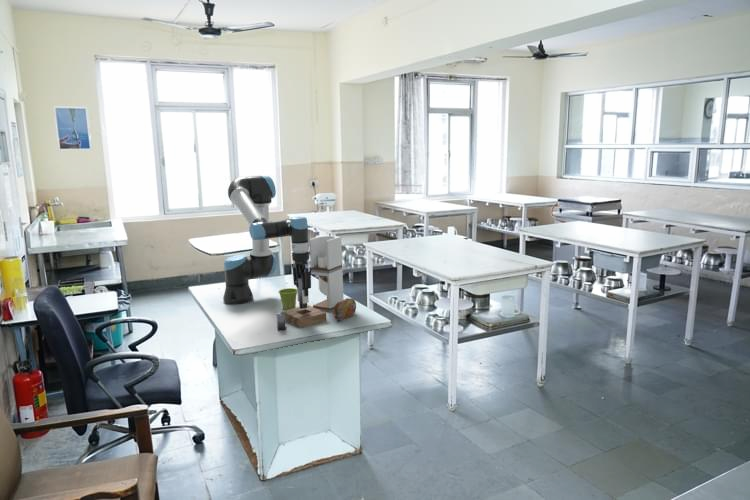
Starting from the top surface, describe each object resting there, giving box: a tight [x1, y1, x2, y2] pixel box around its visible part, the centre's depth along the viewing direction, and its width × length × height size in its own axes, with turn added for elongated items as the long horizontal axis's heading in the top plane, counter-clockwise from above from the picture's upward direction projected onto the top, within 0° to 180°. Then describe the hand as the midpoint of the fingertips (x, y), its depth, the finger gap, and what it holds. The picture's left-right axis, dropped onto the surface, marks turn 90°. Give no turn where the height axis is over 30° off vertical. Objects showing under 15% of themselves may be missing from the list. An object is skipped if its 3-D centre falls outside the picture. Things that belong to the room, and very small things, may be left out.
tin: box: [333, 297, 357, 322], centre depth 244 cm, size 15×3×8 cm, turn 148°
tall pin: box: [298, 277, 308, 309], centre depth 240 cm, size 4×4×14 cm
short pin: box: [276, 312, 287, 332], centre depth 230 cm, size 4×4×7 cm
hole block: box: [281, 304, 327, 329], centre depth 242 cm, size 16×14×4 cm
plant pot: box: [278, 287, 298, 310], centre depth 262 cm, size 9×9×9 cm
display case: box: [308, 234, 345, 313], centre depth 257 cm, size 11×11×35 cm
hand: (303, 301), depth 241 cm, fingers closed on tall pin, 4 cm apart
